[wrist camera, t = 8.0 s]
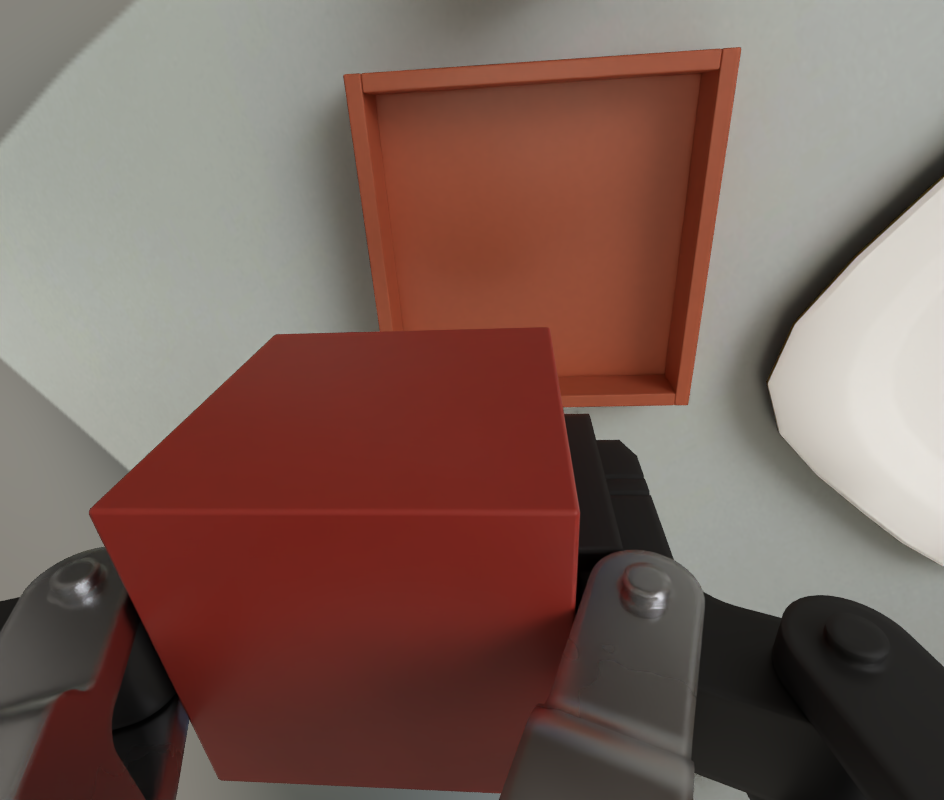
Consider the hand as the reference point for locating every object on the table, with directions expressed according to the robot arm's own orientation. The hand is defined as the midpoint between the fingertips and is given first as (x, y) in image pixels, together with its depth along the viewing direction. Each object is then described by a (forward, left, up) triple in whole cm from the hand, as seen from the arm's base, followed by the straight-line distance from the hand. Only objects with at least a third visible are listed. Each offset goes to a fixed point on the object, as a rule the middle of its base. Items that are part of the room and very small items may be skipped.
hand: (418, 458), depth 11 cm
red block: (0, 0, 0) cm, 0 cm away
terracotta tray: (+3, +1, -15) cm, 15 cm away
